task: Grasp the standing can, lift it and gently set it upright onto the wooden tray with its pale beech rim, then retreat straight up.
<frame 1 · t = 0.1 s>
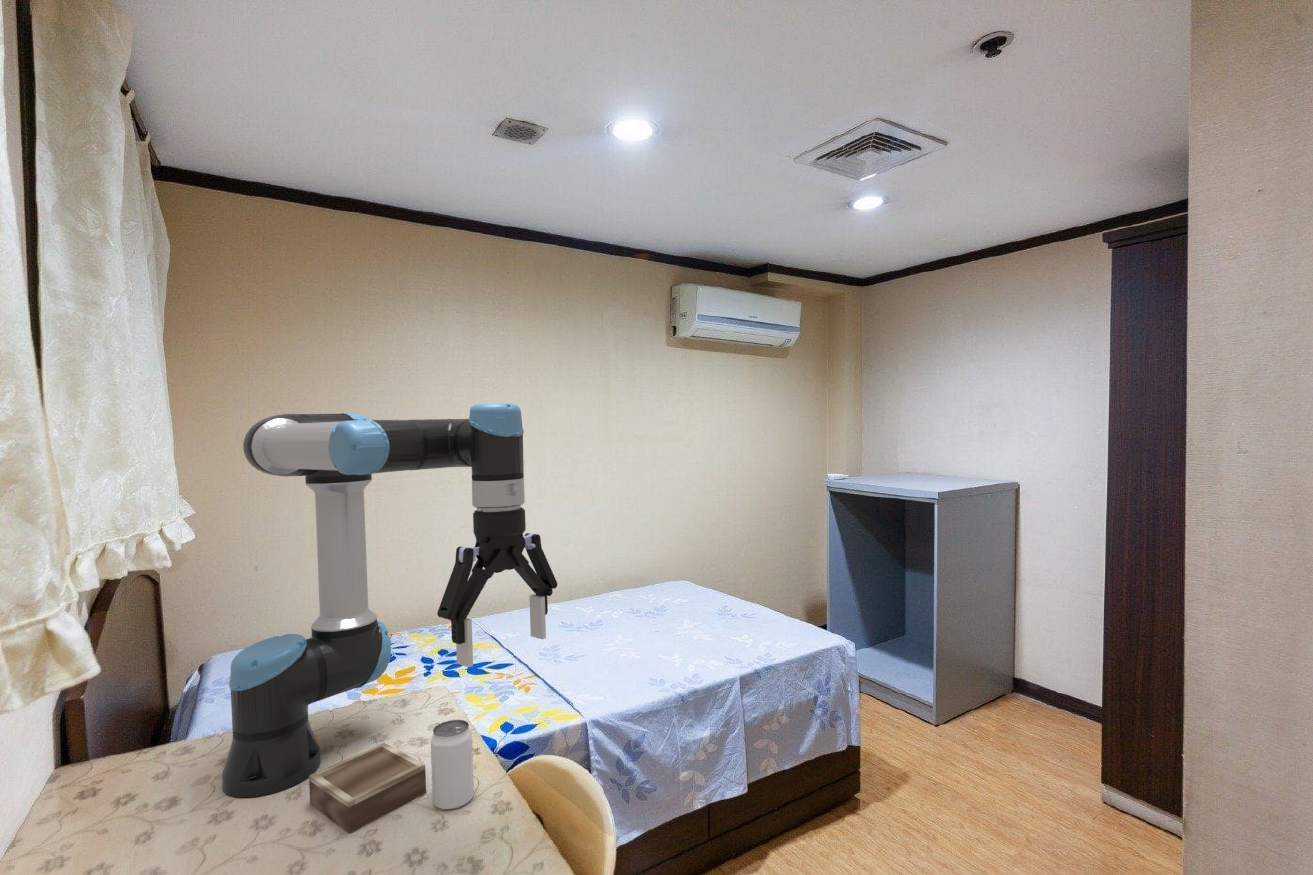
hand: (503, 650, 94), 28 cm above the table, fingers open, 13 cm apart
can: (453, 800, 104), on the table
wooden tray: (368, 798, 105), on the table
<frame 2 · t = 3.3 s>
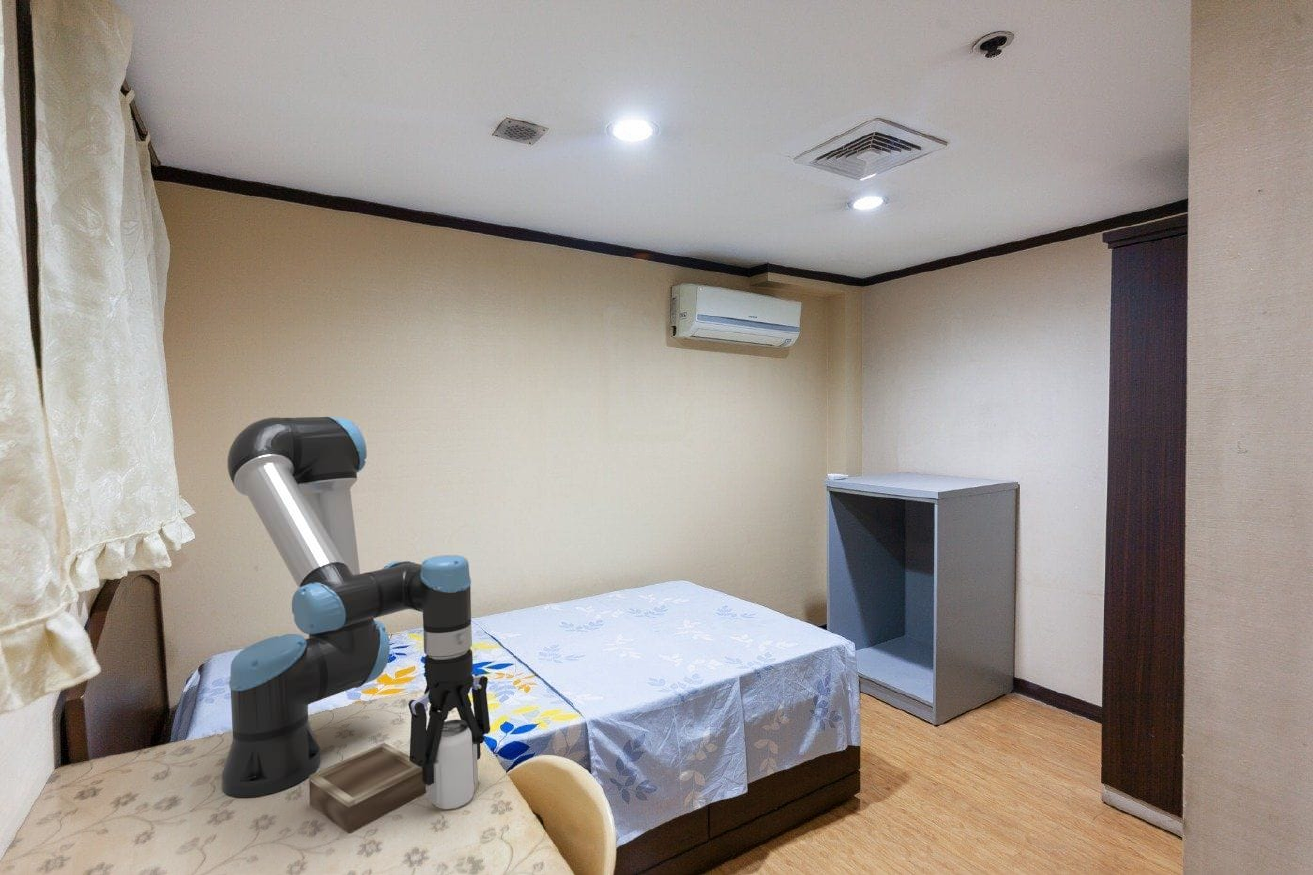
hand: (453, 790, 104), 1 cm above the table, fingers closed on can, 6 cm apart
can: (453, 800, 104), on the table, touching gripper
when the fingers open (6 cm above the table, at t = 12.7 s): can stays where it is, resting on wooden tray.
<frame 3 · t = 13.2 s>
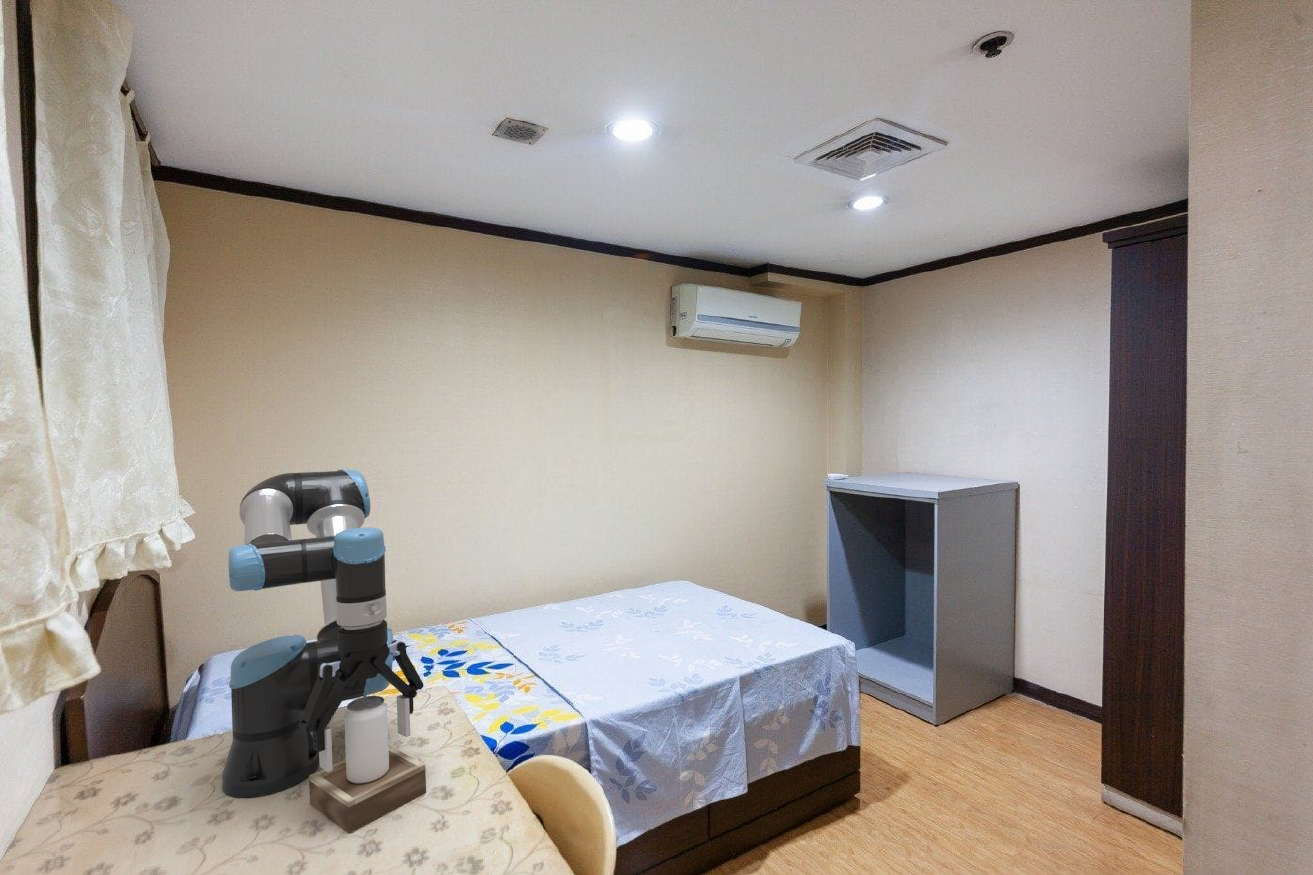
hand: (367, 750, 105), 8 cm above the table, fingers open, 13 cm apart
can: (368, 775, 105), point 4 cm above the table, touching wooden tray
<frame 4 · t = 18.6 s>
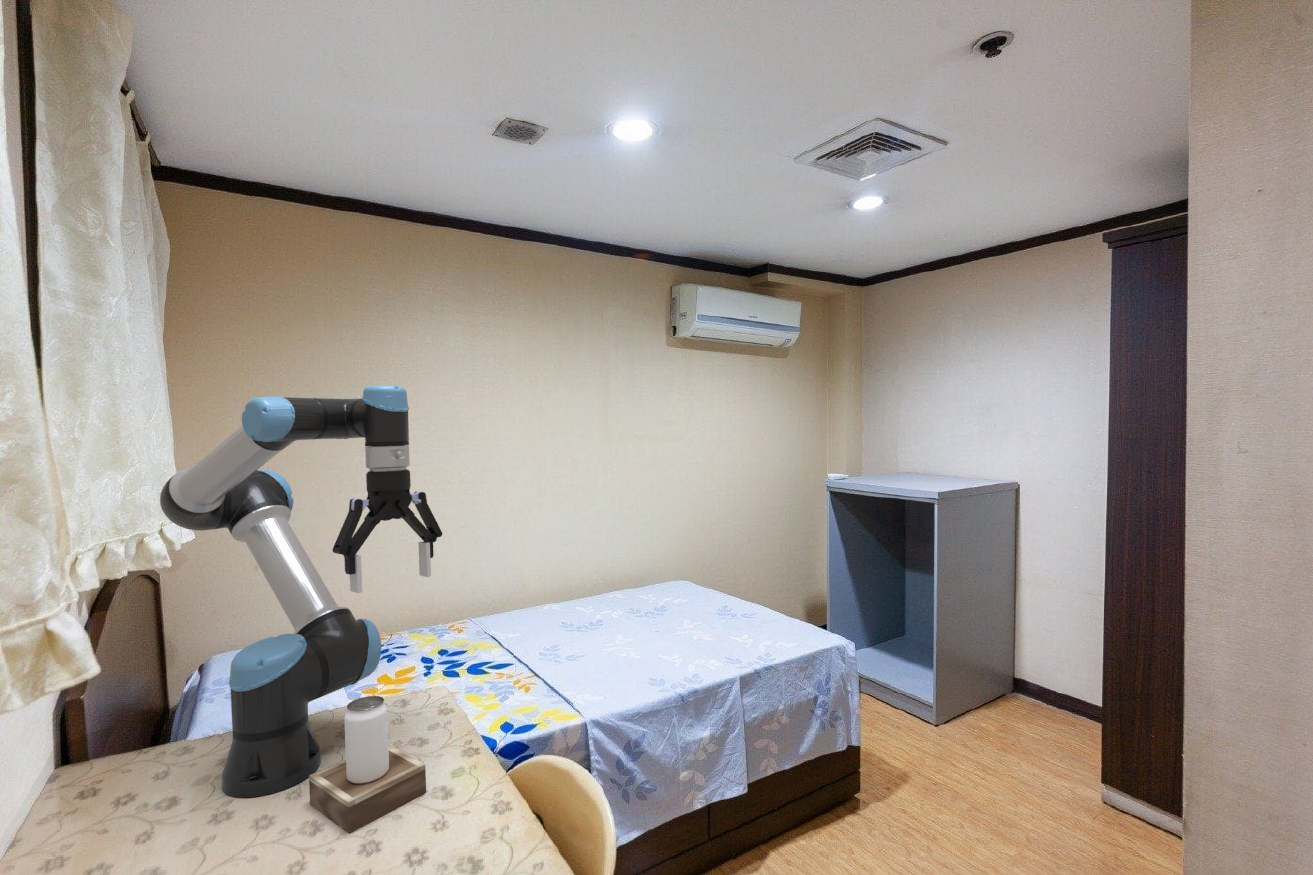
hand: (392, 583, 117), 33 cm above the table, fingers open, 13 cm apart
nothing on the table moved.
at the end: can inside the target area on the wooden tray (0.1 cm from its centre), point 3.8 cm above the wooden tray's base; can tilted 0°; the gripper is holding nothing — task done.
